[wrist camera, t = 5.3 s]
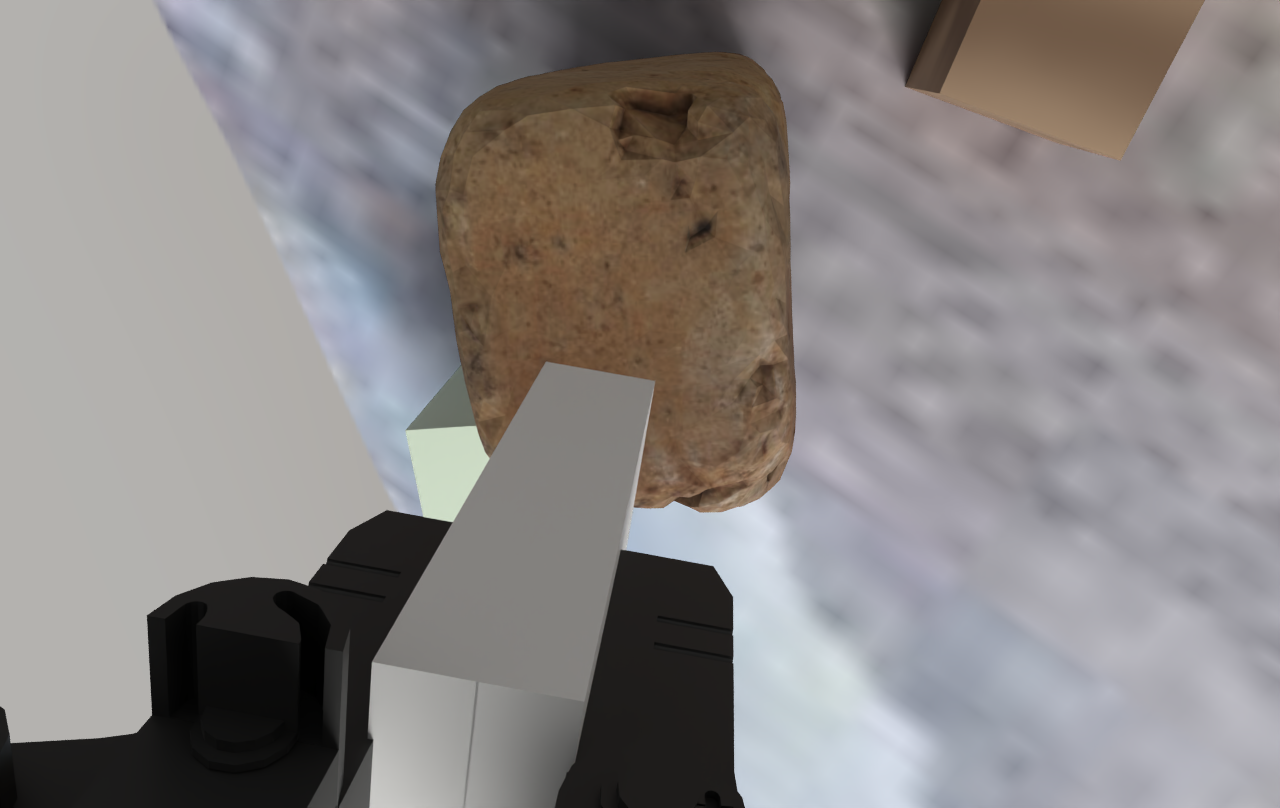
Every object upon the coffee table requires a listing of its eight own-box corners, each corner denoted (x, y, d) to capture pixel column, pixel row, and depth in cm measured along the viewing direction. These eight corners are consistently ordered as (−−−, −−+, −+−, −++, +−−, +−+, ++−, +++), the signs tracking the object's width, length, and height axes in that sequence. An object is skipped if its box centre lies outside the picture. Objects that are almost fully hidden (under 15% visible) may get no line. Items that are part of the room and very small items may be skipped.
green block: (466, 358, 39) (405, 430, 32) (606, 347, 38) (577, 418, 31) (489, 486, 41) (437, 582, 34) (622, 478, 41) (599, 574, 33)
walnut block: (979, -89, 32) (1032, -118, 26) (1140, -27, 32) (1227, -44, 26) (904, 86, 34) (939, 93, 28) (1056, 142, 34) (1120, 160, 29)
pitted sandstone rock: (568, 63, 35) (381, 75, 16) (771, 47, 34) (823, 42, 15) (593, 341, 38) (466, 613, 20) (776, 333, 38) (823, 610, 19)
